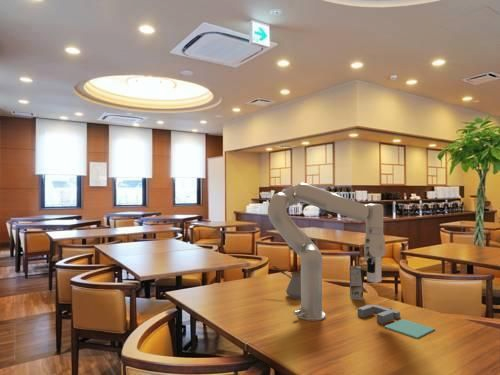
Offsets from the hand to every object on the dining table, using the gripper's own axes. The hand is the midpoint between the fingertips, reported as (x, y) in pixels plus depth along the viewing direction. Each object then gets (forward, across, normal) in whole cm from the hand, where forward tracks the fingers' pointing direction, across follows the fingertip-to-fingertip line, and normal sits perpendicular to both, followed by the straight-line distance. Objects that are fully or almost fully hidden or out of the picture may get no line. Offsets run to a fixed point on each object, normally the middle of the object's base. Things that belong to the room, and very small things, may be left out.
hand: (374, 271), depth 160 cm
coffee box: (+21, +19, +24) cm, 37 cm away
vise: (+21, +5, 0) cm, 21 cm away
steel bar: (+4, 0, 0) cm, 4 cm away
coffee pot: (+22, -7, +49) cm, 54 cm away
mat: (+21, 0, -16) cm, 26 cm away
